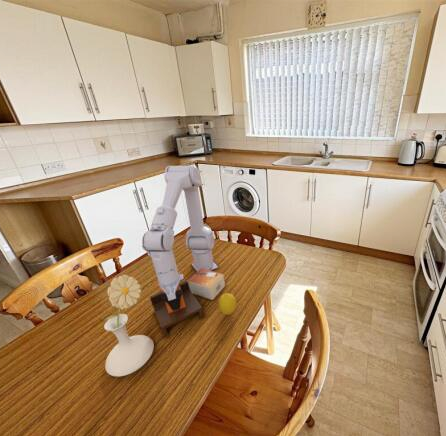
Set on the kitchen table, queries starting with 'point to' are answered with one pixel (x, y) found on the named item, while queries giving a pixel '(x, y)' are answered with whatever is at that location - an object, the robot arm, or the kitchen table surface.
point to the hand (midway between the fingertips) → (175, 302)
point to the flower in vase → (128, 346)
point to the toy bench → (178, 315)
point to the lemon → (227, 304)
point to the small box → (206, 283)
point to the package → (180, 302)
